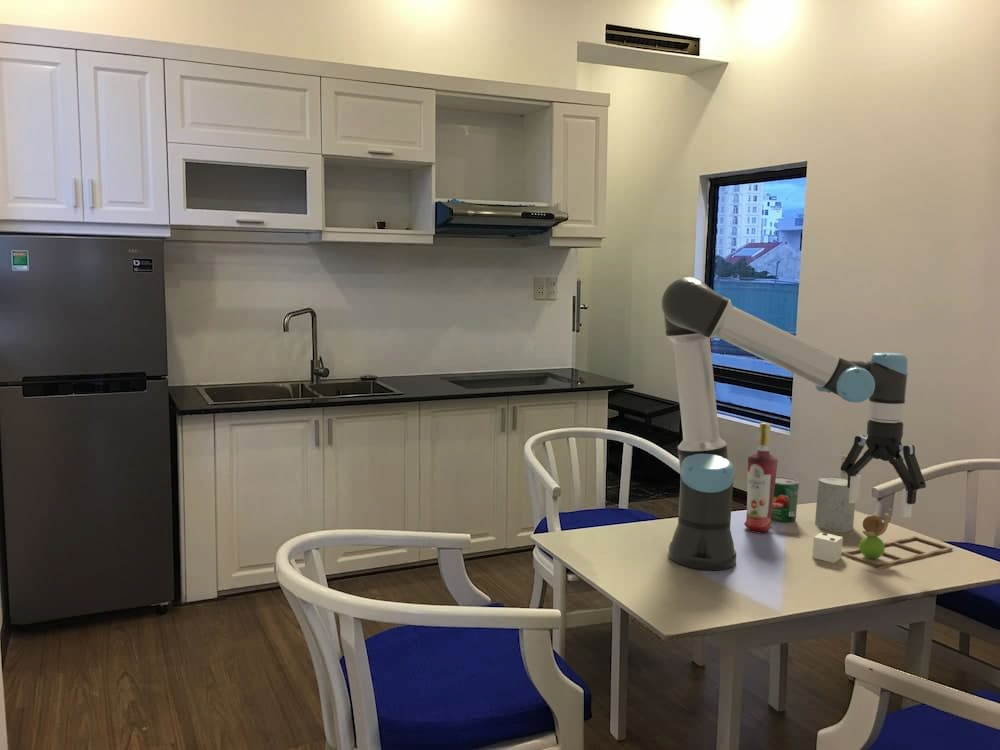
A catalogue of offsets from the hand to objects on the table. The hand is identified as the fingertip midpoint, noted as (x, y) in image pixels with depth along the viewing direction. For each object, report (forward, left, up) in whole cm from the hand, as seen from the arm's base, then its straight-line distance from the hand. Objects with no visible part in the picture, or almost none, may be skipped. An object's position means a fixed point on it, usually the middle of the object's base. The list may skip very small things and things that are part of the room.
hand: (879, 509), depth 189 cm
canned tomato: (+4, +31, -12) cm, 34 cm away
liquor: (-9, +27, -12) cm, 31 cm away
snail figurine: (0, 0, -12) cm, 12 cm away
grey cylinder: (+13, +21, -12) cm, 28 cm away
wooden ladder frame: (+9, 0, -12) cm, 15 cm away
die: (-10, +5, -12) cm, 16 cm away
